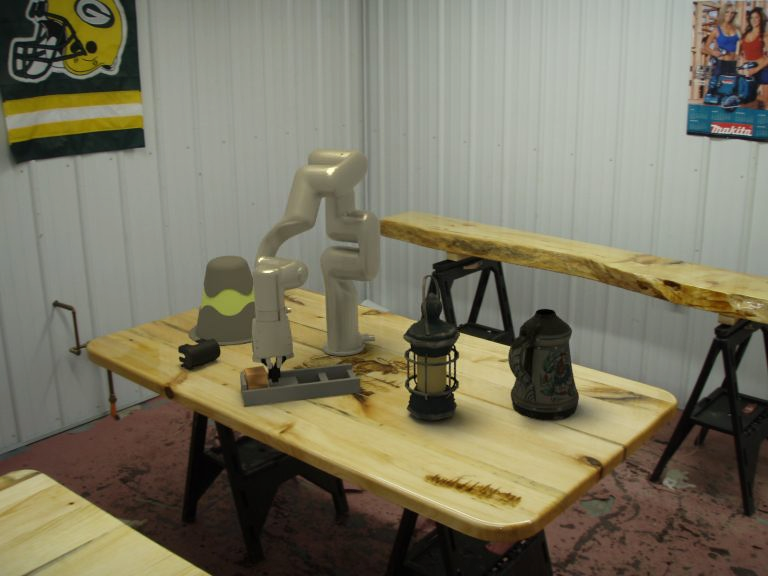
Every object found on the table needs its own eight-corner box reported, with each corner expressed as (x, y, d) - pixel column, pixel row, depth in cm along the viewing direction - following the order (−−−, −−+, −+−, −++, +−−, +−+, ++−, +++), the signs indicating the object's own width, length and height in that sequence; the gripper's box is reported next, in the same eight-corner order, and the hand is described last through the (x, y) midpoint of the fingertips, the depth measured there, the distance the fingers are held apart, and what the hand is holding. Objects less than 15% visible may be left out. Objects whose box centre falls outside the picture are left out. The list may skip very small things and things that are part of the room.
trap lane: (351, 376, 215) (351, 357, 213) (360, 392, 204) (359, 373, 203) (241, 389, 208) (239, 370, 206) (244, 406, 198) (242, 386, 196)
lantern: (452, 430, 183) (453, 286, 173) (397, 423, 187) (395, 283, 177) (464, 404, 196) (465, 270, 186) (413, 399, 200) (411, 267, 190)
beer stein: (583, 398, 198) (589, 304, 191) (568, 431, 181) (573, 329, 174) (519, 388, 205) (522, 297, 198) (499, 419, 188) (501, 321, 181)
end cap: (193, 373, 220) (191, 350, 218) (178, 367, 224) (176, 345, 222) (222, 362, 227) (220, 340, 225) (206, 356, 231) (205, 335, 229)
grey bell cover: (170, 335, 250) (162, 262, 243) (233, 311, 272) (228, 244, 265) (232, 352, 235) (225, 275, 228) (293, 325, 256) (289, 254, 250)
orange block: (264, 383, 205) (263, 365, 204) (268, 390, 201) (266, 372, 199) (245, 386, 204) (244, 368, 202) (248, 393, 199) (247, 375, 198)
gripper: (297, 306, 203) (301, 371, 209) (239, 312, 200) (244, 378, 205) (302, 315, 196) (305, 382, 202) (242, 321, 193) (247, 390, 198)
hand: (274, 380), depth 203 cm, fingers closed
